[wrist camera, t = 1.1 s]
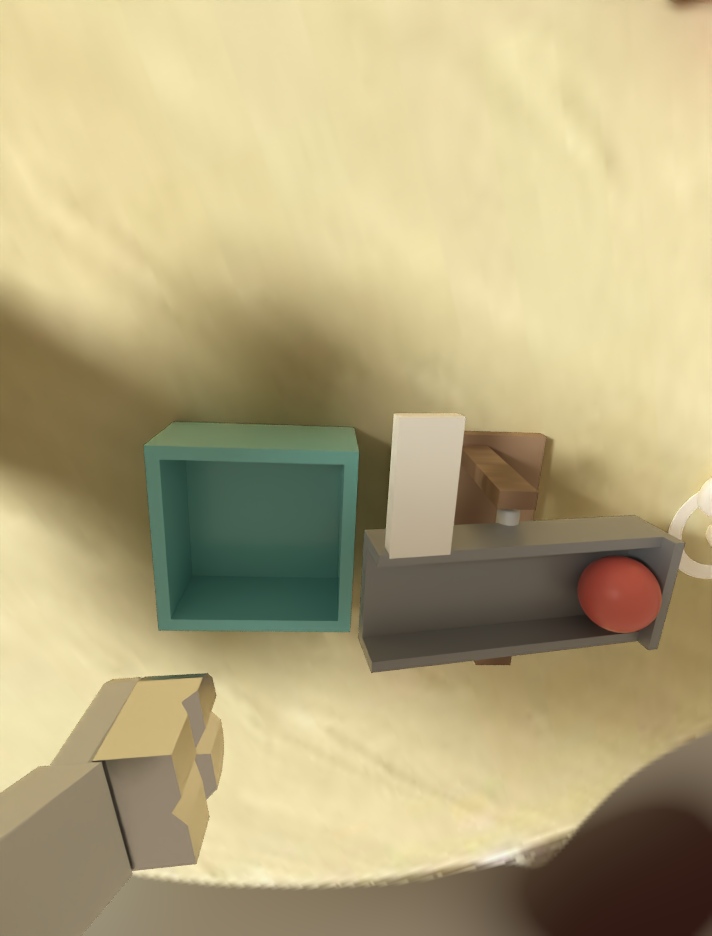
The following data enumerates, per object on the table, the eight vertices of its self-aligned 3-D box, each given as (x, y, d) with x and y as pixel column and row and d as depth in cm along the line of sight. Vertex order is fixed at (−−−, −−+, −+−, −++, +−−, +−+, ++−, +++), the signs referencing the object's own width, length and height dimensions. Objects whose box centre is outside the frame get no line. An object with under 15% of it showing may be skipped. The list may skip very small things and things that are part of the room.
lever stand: (386, 583, 39) (405, 674, 30) (397, 428, 36) (423, 475, 26) (516, 585, 40) (575, 675, 30) (540, 433, 36) (616, 480, 27)
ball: (555, 615, 29) (621, 658, 26) (568, 551, 28) (639, 586, 24) (601, 599, 31) (668, 636, 28) (615, 537, 30) (686, 568, 26)
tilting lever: (352, 635, 30) (374, 696, 25) (365, 399, 25) (393, 421, 21) (597, 610, 33) (654, 659, 29) (643, 400, 29) (717, 419, 25)
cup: (183, 581, 38) (158, 630, 33) (173, 421, 35) (143, 445, 29) (346, 583, 39) (350, 631, 33) (354, 427, 35) (358, 451, 30)
